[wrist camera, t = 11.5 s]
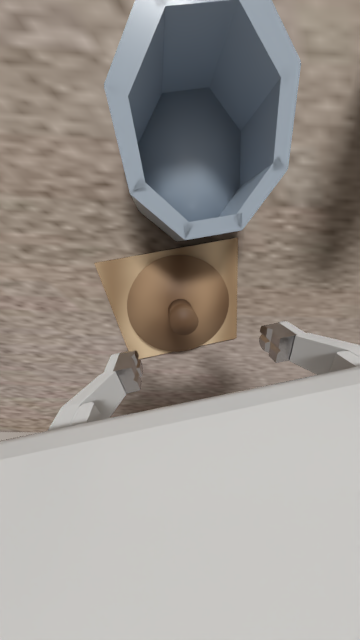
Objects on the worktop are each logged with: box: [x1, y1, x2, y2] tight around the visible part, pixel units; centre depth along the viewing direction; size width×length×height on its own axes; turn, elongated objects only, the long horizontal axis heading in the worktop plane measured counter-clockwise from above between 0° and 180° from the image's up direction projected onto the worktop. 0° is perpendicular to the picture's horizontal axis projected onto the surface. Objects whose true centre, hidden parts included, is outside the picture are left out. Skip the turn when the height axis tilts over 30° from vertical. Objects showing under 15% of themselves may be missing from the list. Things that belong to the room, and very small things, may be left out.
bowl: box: [104, 0, 301, 241], centre depth 11 cm, size 10×10×5 cm
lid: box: [127, 255, 229, 352], centre depth 16 cm, size 11×11×4 cm
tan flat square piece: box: [94, 238, 238, 359], centre depth 18 cm, size 14×12×1 cm
